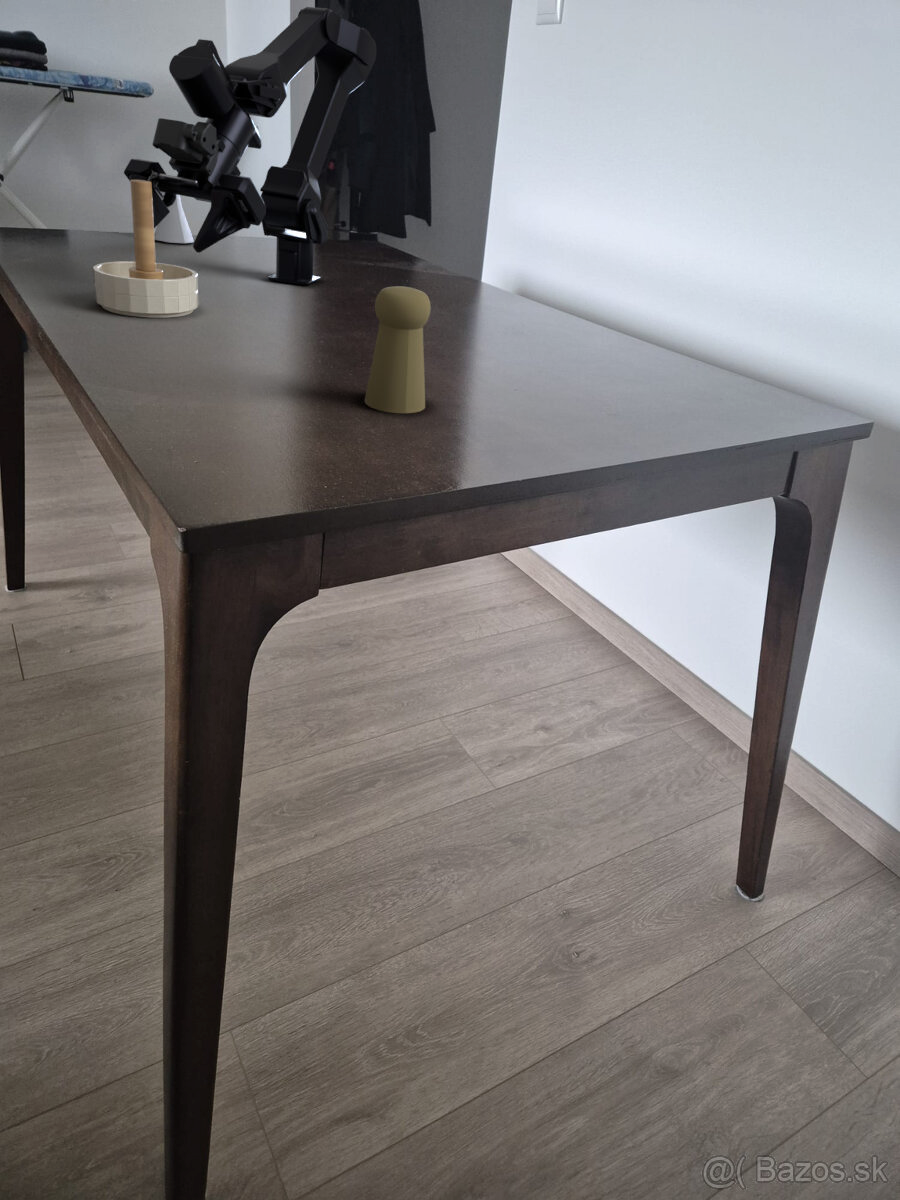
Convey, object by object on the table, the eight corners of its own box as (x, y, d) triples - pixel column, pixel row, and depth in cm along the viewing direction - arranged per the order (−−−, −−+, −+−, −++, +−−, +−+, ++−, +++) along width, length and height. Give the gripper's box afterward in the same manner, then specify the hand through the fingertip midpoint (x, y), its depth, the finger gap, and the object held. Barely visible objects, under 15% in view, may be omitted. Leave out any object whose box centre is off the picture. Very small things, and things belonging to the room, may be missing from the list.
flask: (188, 246, 155) (186, 184, 150) (147, 241, 154) (144, 179, 149) (199, 241, 161) (197, 181, 156) (160, 236, 161) (157, 176, 156)
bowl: (127, 293, 116) (125, 257, 114) (214, 306, 115) (213, 271, 113) (76, 308, 105) (73, 269, 103) (171, 323, 104) (169, 284, 102)
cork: (364, 392, 88) (371, 279, 83) (423, 397, 89) (434, 285, 84) (364, 410, 83) (372, 290, 78) (427, 415, 84) (439, 297, 78)
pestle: (124, 301, 109) (115, 178, 102) (146, 297, 112) (139, 178, 105) (149, 307, 108) (142, 183, 101) (171, 303, 111) (165, 183, 104)
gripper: (128, 86, 109) (70, 185, 105) (252, 103, 103) (194, 208, 99) (174, 157, 119) (122, 249, 115) (288, 175, 113) (238, 273, 110)
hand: (166, 244), depth 110 cm, fingers open, 9 cm apart
